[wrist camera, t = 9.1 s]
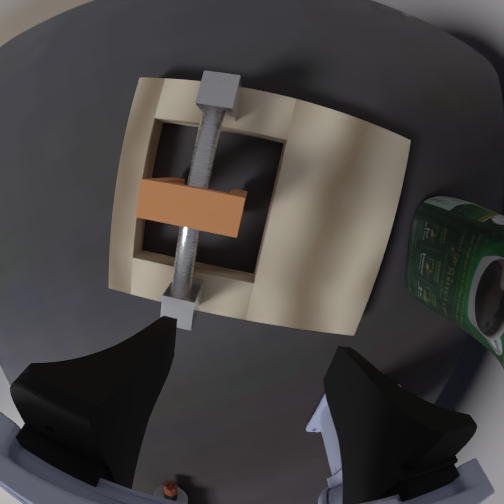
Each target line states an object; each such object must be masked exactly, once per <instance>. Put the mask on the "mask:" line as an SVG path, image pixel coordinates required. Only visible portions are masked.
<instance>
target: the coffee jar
mask: <svg viewBox="0 0 504 504" xmlns="http://www.w3.org/2000/svg"><path fill="white" fill-rule="evenodd" d="M406 282H407V288H408V290H409V292H410V294H411V295H412V296H413V297H414V298H415V299H416V300H418V301H419V302H420V303H422V304H423V305H425V306H426V307H428V308H429V309H431V310H433V311H434V312H436V313H438V314H439V315H441V316H443V317H444V318H446V319H448V320H449V321H451V322H452V323H454V324H455V325H457V326H458V327H460V328H461V329H463V330H464V331H466V332H467V333H469V334H470V335H472V336H473V337H474V338H475V339H477V340H478V341H479V342H481V343H482V344H483V345H484V346H485V347H486V348H487V349H489V350H490V351H491V352H492V353H493V354H494V355H495V356H496V358H497V359H498V360H499V361H500V363H501V365H502V366H503V368H504V216H503V215H501V214H499V213H496V212H494V211H491V210H489V209H487V208H484V207H482V206H479V205H477V204H474V203H471V202H468V201H465V200H461V199H457V198H452V197H446V196H438V197H432V198H429V199H426V200H425V201H424V202H422V203H421V204H420V206H419V207H418V208H417V210H416V211H415V214H414V217H413V220H412V225H411V231H410V237H409V244H408V254H407V269H406Z"/></svg>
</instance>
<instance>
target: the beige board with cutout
mask: <svg viewBox="0 0 504 504" xmlns="http://www.w3.org/2000/svg"><path fill="white" fill-rule="evenodd" d="M200 83H201V81H193V80H182V79H167V78H140V79H139V82H138V86H137V89H136V93H135V96H134V100H133V103H132V107H131V111H130V115H129V119H128V124H127V128H126V132H125V137H124V142H123V147H122V152H121V157H120V163H119V169H118V175H117V182H116V189H115V197H114V205H113V214H112V225H111V238H110V256H109V288H111V289H114V290H118V291H121V292H125V293H129V294H132V295H136V296H140V297H144V298H148V299H152V300H156V301H160V302H162V295H163V294H164V292H165V291H166V289H167V288H168V286H169V285H170V283H171V282H172V279H173V271H174V263H175V257H171V256H167V255H162V254H158V253H153V252H149V251H144V250H142V249H143V239H144V230H145V222H146V219H142V218H137V217H136V209H137V202H138V195H139V188H140V182H141V179H149V178H152V175H153V170H154V164H155V159H156V154H157V149H158V144H159V139H160V135H161V131H162V126H163V123H171V124H179V125H187V126H195V127H199V125H200V121H201V116H202V111H201V110H200V109H199V107H198V106H197V105H196V104H195V102H196V98H197V94H198V90H199V87H200ZM221 131H226V132H232V133H237V134H242V135H247V136H252V137H257V138H262V139H266V140H271V141H275V142H279V143H283V148H282V152H281V157H280V161H279V165H278V170H277V174H276V179H275V183H274V188H273V192H272V196H271V201H270V205H269V209H268V214H267V218H266V223H265V227H264V231H263V236H262V240H261V244H260V249H259V253H258V257H257V262H256V266H255V270H254V274H253V273H248V272H243V271H238V270H233V269H228V268H223V267H219V266H214V265H209V264H204V263H199V262H195V267H194V274H193V278H196V279H201V280H204V283H203V289H202V295H201V302H200V306H199V309H198V310H199V311H203V312H208V313H213V314H218V315H223V316H228V317H233V318H238V319H244V320H249V321H255V322H261V323H266V324H272V325H279V326H285V327H291V328H298V329H305V330H312V331H320V332H327V333H335V334H344V335H353V336H354V334H355V331H356V329H357V327H358V324H359V322H360V319H361V317H362V314H363V312H364V309H365V307H366V304H367V302H368V299H369V296H370V294H371V291H372V288H373V286H374V283H375V280H376V277H377V274H378V271H379V268H380V265H381V262H382V259H383V256H384V253H385V250H386V246H387V243H388V240H389V236H390V233H391V229H392V226H393V222H394V218H395V214H396V210H397V206H398V202H399V198H400V194H401V190H402V185H403V180H404V176H405V171H406V166H407V160H408V155H409V149H410V143H411V140H409V139H407V138H405V137H403V136H400V135H398V134H396V133H394V132H391V131H389V130H387V129H384V128H382V127H379V126H377V125H374V124H372V123H369V122H367V121H364V120H361V119H359V118H356V117H353V116H350V115H348V114H345V113H342V112H339V111H336V110H333V109H330V108H326V107H323V106H320V105H316V104H313V103H310V102H306V101H302V100H299V99H295V98H291V97H287V96H283V95H278V94H274V93H270V92H265V91H260V90H255V89H250V88H244V87H242V97H241V101H240V105H239V109H238V113H237V118H236V121H230V120H224V119H223V123H222V127H221Z"/></svg>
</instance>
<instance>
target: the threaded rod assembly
mask: <svg viewBox="0 0 504 504" xmlns="http://www.w3.org/2000/svg"><path fill="white" fill-rule="evenodd" d="M241 97H242V85H241V76H240V75H234V74H228V73H220V72H212V71H204V73H203V76H202V80H201V83H200V87H199V90H198V94H197V98H196V102H195V104H196V105H197V106H198V107H199V109H200V110H201V111H202V116H201V121H200V125H199V129H198V133H197V138H196V142H195V147H194V151H193V156H192V161H191V166H190V171H189V176H188V181H187V185H189V186H195V187H200V188H205V189H208V188H209V183H210V178H211V173H212V168H213V163H214V159H215V154H216V149H217V145H218V140H219V136H220V132H221V127H222V123H223V119H224V120H230V121H236V118H237V113H238V109H239V105H240V101H241ZM199 236H200V230H197V229H192V228H187V227H182V226H180V227H179V234H178V241H177V248H176V255H175V263H174V271H173V279H172V282H171V283H170V285H169V286H168V288H167V289H166V291H165V292H164V294H163V295H162V305H161V317H162V316H167V317H172V318H176V319H177V328H181V329H186V330H190V331H191V329H192V326H193V323H194V320H195V317H196V315H197V312H198V309H199V306H200V302H201V295H202V289H203V283H204V280H201V279H196V278H193V274H194V267H195V261H196V254H197V248H198V242H199Z"/></svg>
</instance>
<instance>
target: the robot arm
mask: <svg viewBox="0 0 504 504" xmlns="http://www.w3.org/2000/svg"><path fill="white" fill-rule="evenodd" d="M176 327H177V319H176V318H172V317H167V316H162V317H161V318H159V319H158V320H156V321H155V322H153V323H152V324H151V325H149V326H148V327H146V328H145V329H143V330H141V331H140V332H138V333H137V334H135V335H134V336H132V337H130V338H128V339H127V340H125V341H123V342H121V343H119V344H117V345H115V346H113V347H110V348H108V349H105V350H103V351H100V352H97V353H94V354H91V355H87V356H84V357H81V358H76V359H71V360H66V361H59V362H48V363H31V364H30V365H29V366H28V367H27V368H26V369H25V370H24V371H23V372H22V373H21V374H20V376H19V377H18V378H17V379H16V380H15V381H14V382H13V383H12V385H11V387H10V392H11V396H12V399H13V402H14V404H15V406H16V408H17V409H18V411H19V413H20V415H21V417H22V419H23V421H24V422H25V424H24V426H23V428H22V429H20V427H19V426H18V425H17V424H16V423H14V422H13V421H12V420H11V419H9V418H8V417H7V416H5V415H4V414H3V413H1V412H0V487H2V488H3V489H4V490H5V491H7V492H8V493H9V494H11V495H12V496H13V497H15V498H16V499H17V500H19V501H20V502H21V503H23V504H187V503H182V502H177V501H172V500H168V499H164V498H160V497H156V496H152V495H149V494H145V493H142V492H139V491H135V490H132V484H133V479H134V474H135V469H136V465H137V460H138V456H139V452H140V448H141V445H142V441H143V437H144V434H145V430H146V427H147V423H148V420H149V417H150V415H151V412H152V410H153V407H154V405H155V403H156V401H157V398H158V396H159V394H160V392H161V390H162V387H163V385H164V383H165V381H166V379H167V376H168V374H169V371H170V367H171V364H172V361H173V357H174V349H175V338H176ZM323 380H324V388H325V395H324V397H323V398H322V400H321V402H320V404H319V406H318V408H317V409H316V411H315V413H314V415H313V416H312V418H311V420H310V422H309V423H308V425H307V427H306V431H307V432H322V436H323V440H324V444H325V448H326V452H327V456H328V460H329V465H330V469H331V473H332V477H330V478H328V479H327V481H328V486H329V487H327V488H324V489H323V490H322V492H321V495H320V496H319V499H318V504H481V503H482V502H483V501H485V500H486V499H487V498H488V497H489V496H491V495H492V494H493V493H494V492H495V491H494V489H493V487H492V486H491V483H490V481H489V480H488V478H487V476H486V474H485V473H484V471H483V469H482V468H481V466H480V464H479V462H478V461H477V459H472V460H470V461H468V462H466V463H464V464H462V465H460V466H459V467H458V468H456V467H455V465H454V464H455V463H456V462H457V461H458V459H457V458H456V456H455V455H456V454H457V453H458V452H459V451H460V450H461V449H462V448H463V447H464V446H465V445H466V444H467V442H468V441H469V440H470V439H471V438H472V437H473V435H474V433H475V432H476V429H477V425H476V423H475V422H474V420H473V419H472V417H471V416H470V415H468V414H464V413H459V412H455V411H451V410H448V409H445V408H442V407H439V406H436V405H434V404H432V403H429V402H427V401H425V400H423V399H421V398H419V397H417V396H415V395H413V394H412V393H410V392H408V391H407V390H405V389H403V388H402V387H401V385H400V384H396V383H395V382H393V381H392V380H391V379H389V378H388V377H387V376H385V375H384V374H383V373H382V372H380V371H379V370H378V369H377V368H375V367H374V366H373V365H372V364H371V363H369V362H368V361H367V360H366V359H365V358H364V357H362V356H361V355H360V354H359V353H357V352H356V351H355V350H353V349H352V348H350V347H342V346H338V349H337V351H336V353H335V355H334V358H333V360H332V362H331V364H330V366H329V369H328V371H327V373H326V375H325V377H324V379H323Z"/></svg>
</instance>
